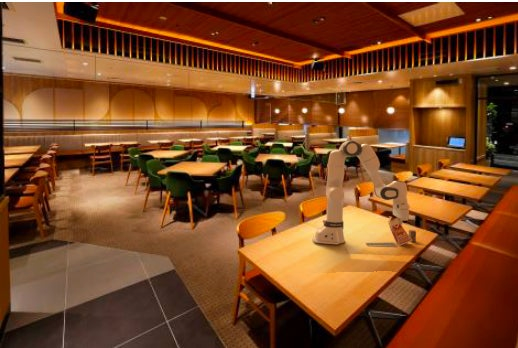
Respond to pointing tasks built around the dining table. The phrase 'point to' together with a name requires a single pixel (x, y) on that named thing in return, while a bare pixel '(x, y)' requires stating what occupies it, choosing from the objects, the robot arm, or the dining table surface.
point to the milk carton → (398, 231)
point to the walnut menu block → (412, 235)
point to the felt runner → (382, 244)
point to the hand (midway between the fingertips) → (400, 224)
